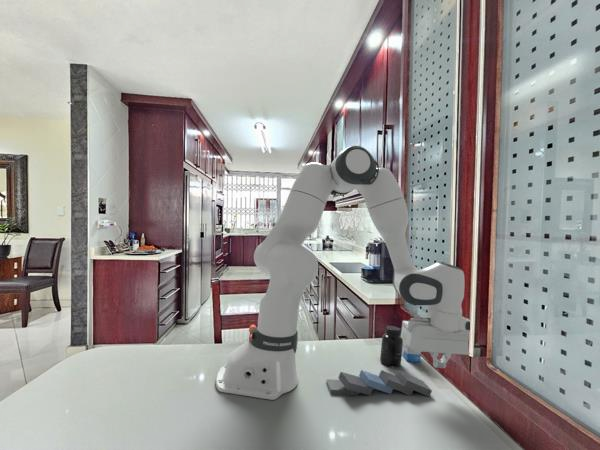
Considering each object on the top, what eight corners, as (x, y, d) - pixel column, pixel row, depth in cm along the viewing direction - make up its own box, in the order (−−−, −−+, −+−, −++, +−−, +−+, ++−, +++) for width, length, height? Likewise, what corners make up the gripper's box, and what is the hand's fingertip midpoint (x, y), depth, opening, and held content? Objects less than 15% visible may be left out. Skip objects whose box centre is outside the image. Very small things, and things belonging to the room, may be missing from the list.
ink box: (421, 362, 102) (424, 329, 101) (406, 361, 102) (409, 327, 102) (412, 352, 110) (414, 321, 110) (398, 350, 110) (401, 319, 110)
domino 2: (370, 395, 78) (347, 389, 76) (360, 383, 83) (338, 377, 80) (373, 389, 79) (349, 382, 76) (362, 377, 83) (340, 371, 80)
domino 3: (390, 394, 80) (366, 385, 78) (381, 383, 85) (358, 375, 83) (393, 387, 80) (369, 379, 79) (384, 378, 85) (361, 369, 83)
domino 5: (429, 396, 81) (404, 386, 80) (420, 386, 86) (396, 376, 85) (431, 390, 81) (406, 380, 80) (422, 380, 86) (399, 370, 85)
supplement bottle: (402, 369, 95) (405, 333, 95) (380, 365, 97) (383, 329, 97) (399, 360, 102) (402, 326, 102) (379, 356, 103) (382, 323, 103)
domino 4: (410, 395, 80) (385, 385, 80) (402, 385, 85) (378, 375, 85) (413, 389, 81) (388, 379, 80) (405, 379, 86) (381, 369, 85)
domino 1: (358, 396, 79) (330, 396, 78) (353, 386, 84) (326, 385, 83) (359, 389, 79) (330, 389, 78) (353, 379, 84) (326, 379, 83)
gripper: (414, 320, 80) (409, 370, 80) (484, 325, 82) (479, 374, 82) (404, 313, 86) (399, 359, 86) (469, 318, 88) (465, 363, 88)
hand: (439, 366), depth 84 cm, fingers closed
